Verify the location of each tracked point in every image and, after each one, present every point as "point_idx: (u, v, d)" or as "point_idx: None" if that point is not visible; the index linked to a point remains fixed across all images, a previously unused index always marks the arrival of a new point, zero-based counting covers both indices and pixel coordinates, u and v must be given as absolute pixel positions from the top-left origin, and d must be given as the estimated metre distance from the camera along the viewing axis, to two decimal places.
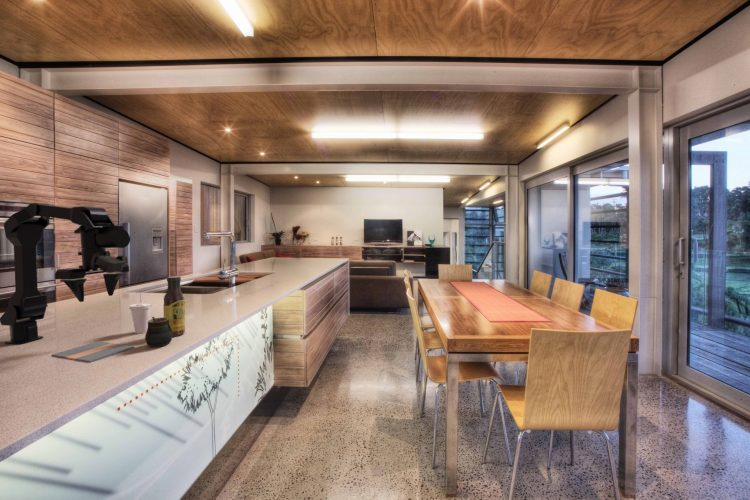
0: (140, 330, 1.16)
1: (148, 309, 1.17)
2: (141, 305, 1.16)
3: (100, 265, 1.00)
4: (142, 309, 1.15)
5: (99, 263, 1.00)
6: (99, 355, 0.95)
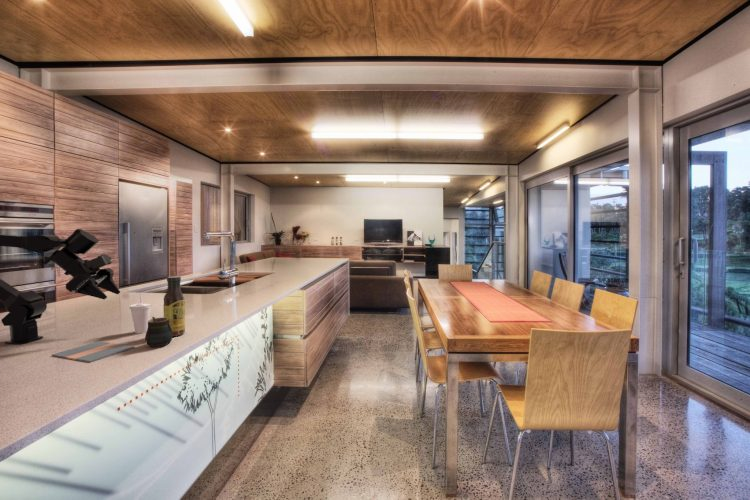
0: (140, 330, 1.16)
1: (148, 309, 1.17)
2: (141, 305, 1.16)
3: (93, 265, 1.11)
4: (142, 309, 1.15)
5: (91, 264, 1.11)
6: (99, 355, 0.95)
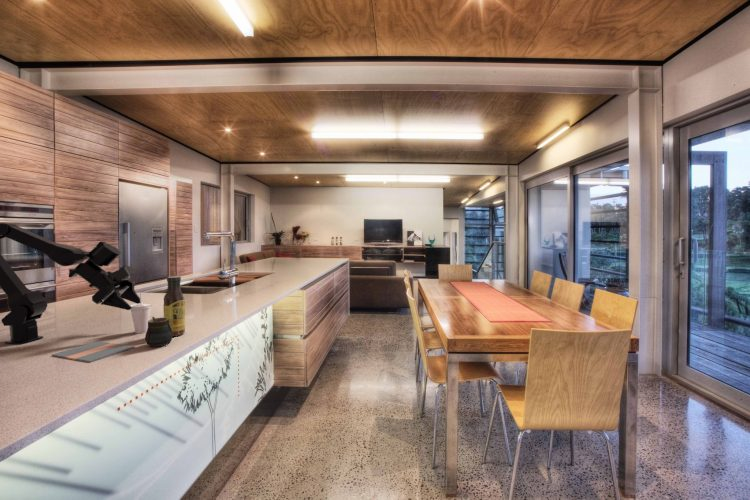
0: (140, 330, 1.16)
1: (148, 309, 1.17)
2: (141, 305, 1.16)
3: (117, 276, 1.13)
4: (142, 309, 1.15)
5: (115, 276, 1.13)
6: (99, 355, 0.95)
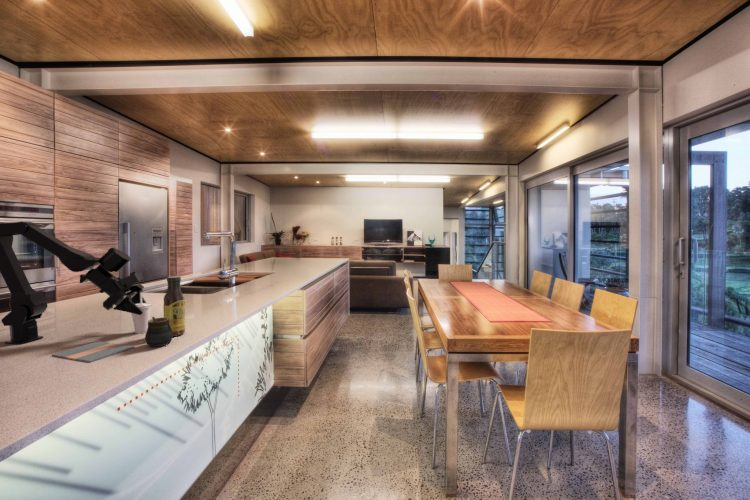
0: (140, 330, 1.16)
1: (148, 309, 1.17)
2: (141, 305, 1.16)
3: (127, 282, 1.14)
4: (142, 309, 1.15)
5: (125, 282, 1.14)
6: (99, 355, 0.95)
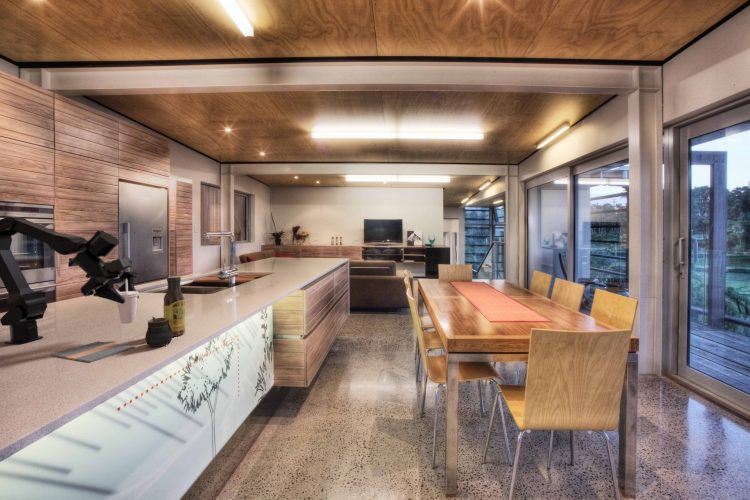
0: (124, 320, 1.08)
1: (133, 298, 1.09)
2: (125, 293, 1.08)
3: (111, 268, 1.06)
4: (125, 298, 1.07)
5: (109, 267, 1.06)
6: (99, 355, 0.95)
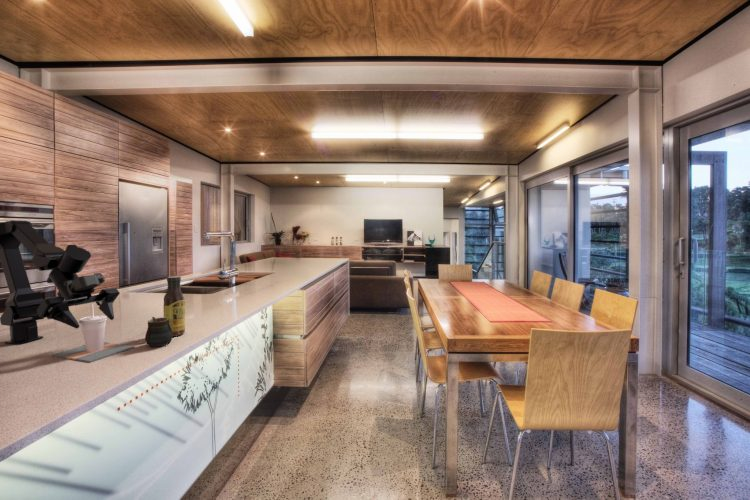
0: (87, 348, 0.97)
1: (96, 324, 0.97)
2: (88, 319, 0.96)
3: (75, 286, 0.96)
4: (87, 324, 0.96)
5: (73, 285, 0.96)
6: (99, 355, 0.95)
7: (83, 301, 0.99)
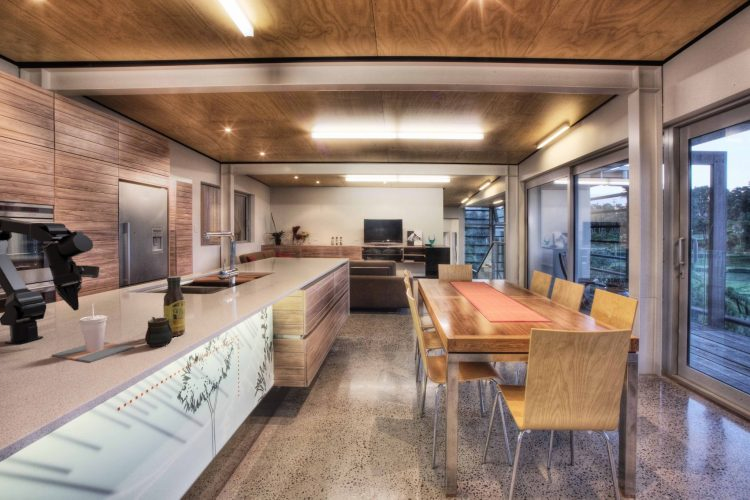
0: (87, 348, 0.97)
1: (96, 324, 0.97)
2: (88, 319, 0.96)
3: (85, 271, 1.06)
4: (87, 324, 0.96)
5: (84, 269, 1.06)
6: (99, 355, 0.95)
7: None
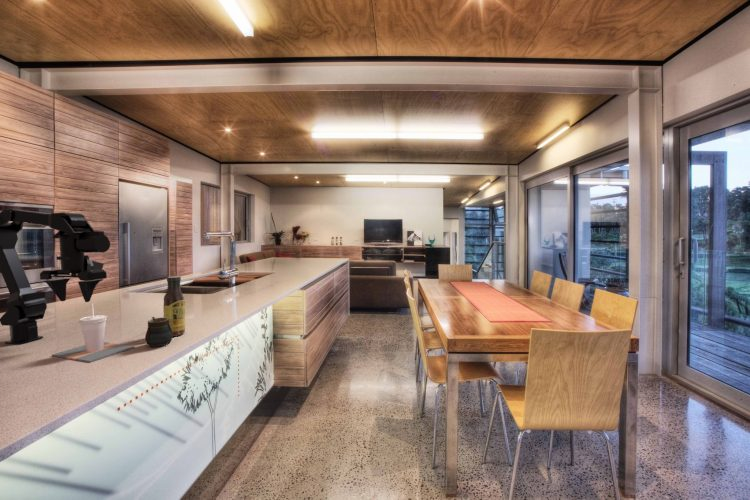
0: (87, 348, 0.97)
1: (96, 324, 0.97)
2: (88, 319, 0.97)
3: (94, 267, 1.11)
4: (87, 324, 0.96)
5: (93, 265, 1.11)
6: (99, 355, 0.95)
7: None
